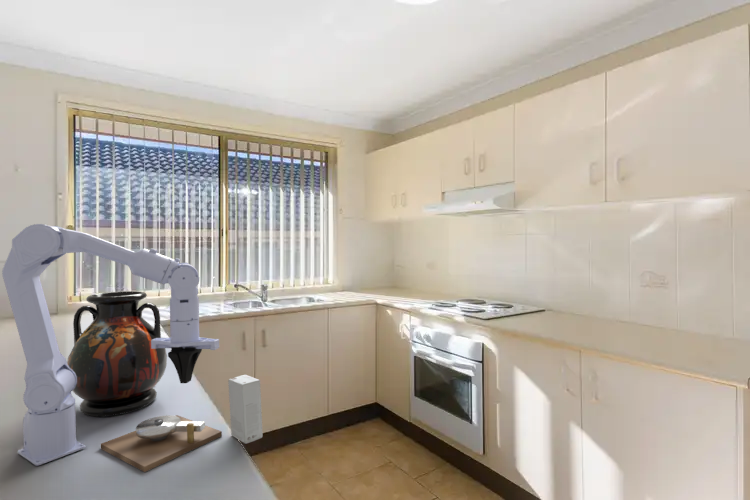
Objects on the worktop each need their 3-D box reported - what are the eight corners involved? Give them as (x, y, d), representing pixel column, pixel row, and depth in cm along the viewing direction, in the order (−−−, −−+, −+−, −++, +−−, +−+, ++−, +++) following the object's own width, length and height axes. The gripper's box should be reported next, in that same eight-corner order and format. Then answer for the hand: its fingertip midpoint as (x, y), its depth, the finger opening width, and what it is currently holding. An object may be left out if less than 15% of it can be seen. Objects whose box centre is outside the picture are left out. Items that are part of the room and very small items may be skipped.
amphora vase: (48, 429, 91) (45, 301, 91) (87, 394, 112) (85, 291, 112) (157, 417, 97) (154, 297, 96) (175, 386, 118) (173, 287, 117)
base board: (100, 448, 82) (100, 426, 82) (176, 419, 96) (176, 399, 95) (144, 472, 73) (144, 446, 73) (221, 436, 87) (221, 414, 87)
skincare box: (263, 437, 86) (262, 379, 86) (243, 445, 83) (242, 384, 83) (248, 428, 90) (247, 373, 90) (228, 435, 87) (227, 378, 87)
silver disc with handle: (127, 438, 80) (126, 429, 80) (150, 421, 88) (150, 412, 88) (193, 438, 80) (193, 429, 80) (211, 420, 88) (210, 412, 88)
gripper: (141, 322, 87) (142, 387, 87) (207, 323, 85) (208, 389, 85) (162, 316, 94) (163, 376, 94) (223, 317, 92) (224, 378, 92)
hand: (185, 381), depth 90 cm, fingers closed
